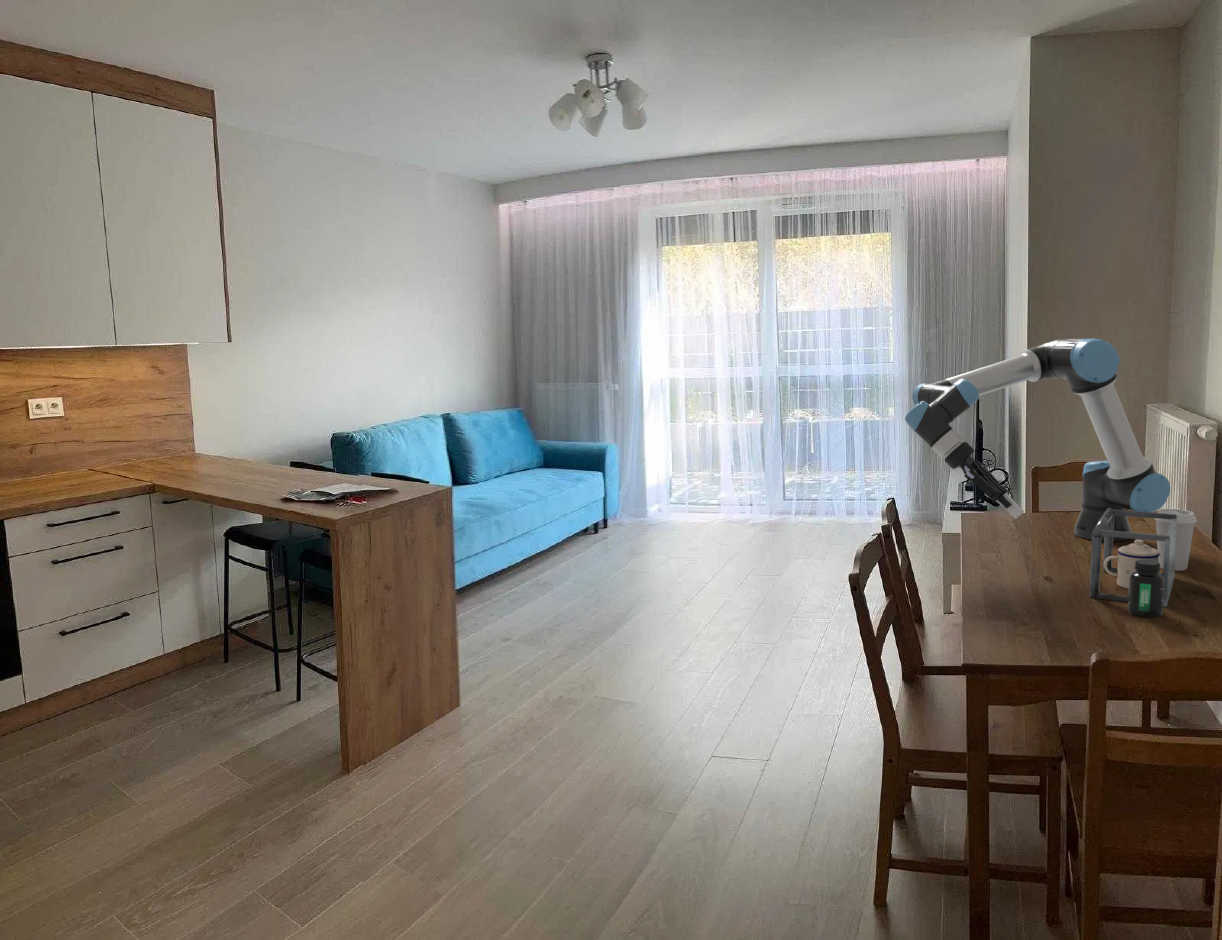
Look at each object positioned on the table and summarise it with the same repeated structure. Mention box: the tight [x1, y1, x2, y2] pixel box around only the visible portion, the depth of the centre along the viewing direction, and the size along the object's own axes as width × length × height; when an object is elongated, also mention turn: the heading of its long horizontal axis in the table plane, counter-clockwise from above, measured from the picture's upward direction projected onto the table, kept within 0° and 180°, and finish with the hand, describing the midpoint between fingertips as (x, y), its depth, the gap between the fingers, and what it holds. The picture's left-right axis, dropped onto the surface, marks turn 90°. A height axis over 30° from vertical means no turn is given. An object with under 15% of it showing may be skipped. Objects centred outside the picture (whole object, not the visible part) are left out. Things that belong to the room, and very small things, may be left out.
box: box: [1088, 508, 1178, 608], centre depth 223 cm, size 27×16×17 cm, turn 145°
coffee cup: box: [1153, 508, 1198, 572], centre depth 238 cm, size 10×10×15 cm
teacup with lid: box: [1104, 539, 1160, 590], centre depth 225 cm, size 12×9×12 cm
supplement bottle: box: [1127, 560, 1165, 619], centre depth 204 cm, size 7×7×12 cm
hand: (1019, 515), depth 236 cm, fingers closed
